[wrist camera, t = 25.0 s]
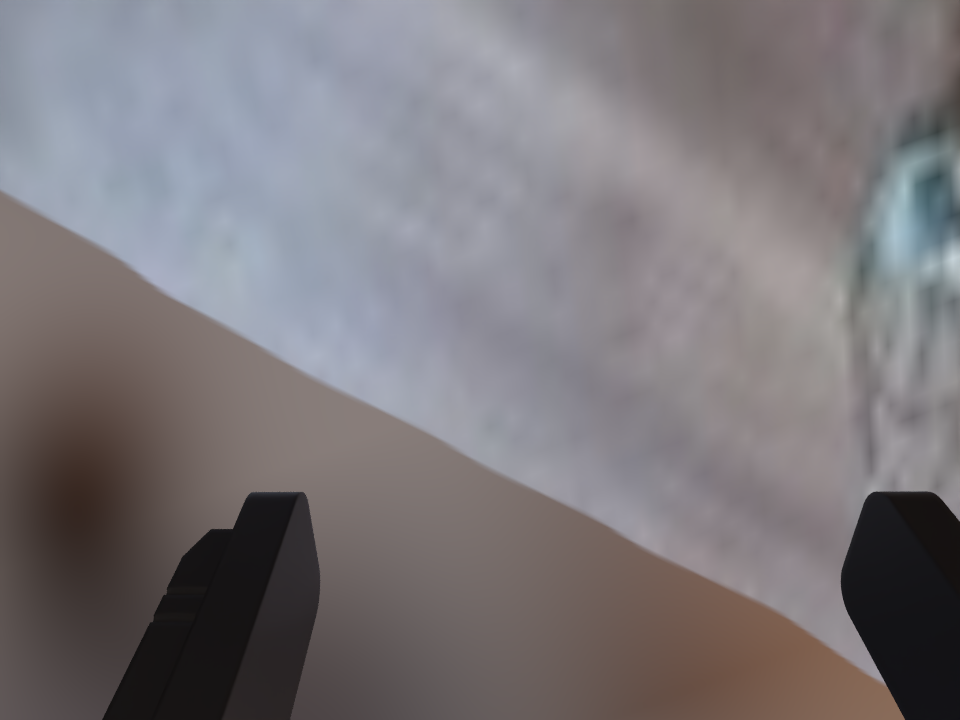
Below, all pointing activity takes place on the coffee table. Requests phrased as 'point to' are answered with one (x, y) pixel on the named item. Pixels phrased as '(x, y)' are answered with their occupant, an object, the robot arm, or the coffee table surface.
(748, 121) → the coffee table surface
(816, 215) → the coffee table surface
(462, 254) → the coffee table surface
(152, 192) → the coffee table surface
